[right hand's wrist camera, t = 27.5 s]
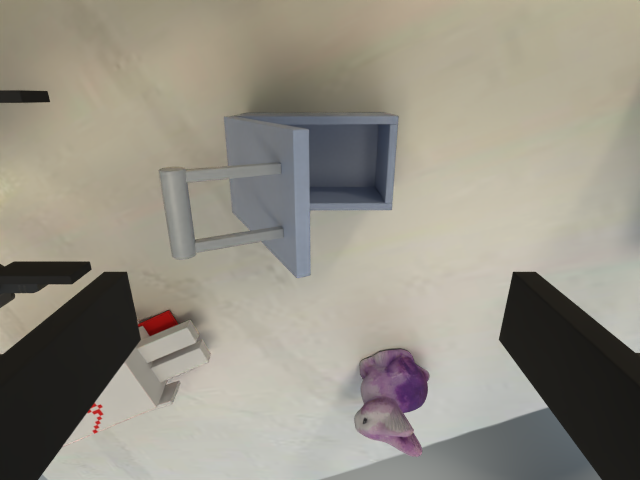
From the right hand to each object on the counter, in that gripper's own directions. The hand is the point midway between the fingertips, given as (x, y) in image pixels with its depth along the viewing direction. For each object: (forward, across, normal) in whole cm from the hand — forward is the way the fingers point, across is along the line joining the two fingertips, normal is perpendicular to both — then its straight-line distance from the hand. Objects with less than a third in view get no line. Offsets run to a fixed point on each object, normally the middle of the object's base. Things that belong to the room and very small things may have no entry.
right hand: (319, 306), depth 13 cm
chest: (+37, -1, 0) cm, 37 cm away
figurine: (+37, +11, -34) cm, 52 cm away
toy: (+37, -31, -31) cm, 58 cm away
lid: (+20, -5, 0) cm, 21 cm away
